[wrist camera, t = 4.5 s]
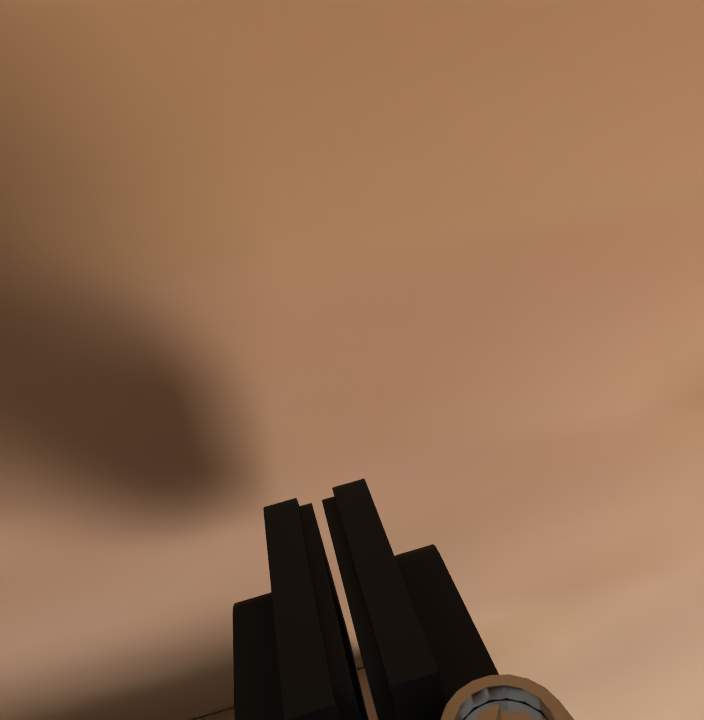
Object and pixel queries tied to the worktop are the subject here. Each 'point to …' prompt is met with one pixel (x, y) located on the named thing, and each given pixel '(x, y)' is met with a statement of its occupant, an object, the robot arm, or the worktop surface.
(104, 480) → the worktop surface
